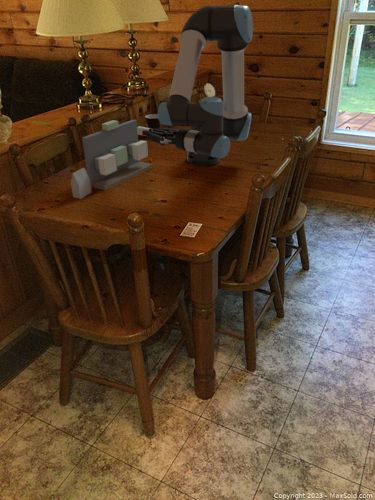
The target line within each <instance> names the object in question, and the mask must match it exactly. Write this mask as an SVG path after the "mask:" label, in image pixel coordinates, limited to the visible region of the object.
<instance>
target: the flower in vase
mask: <svg viewBox="0 0 375 500" xmlns="http://www.w3.org/2000/svg"><path fill="white" fill-rule="evenodd" d="M203 88H204V89H203V90H204V94H205V97H216V90H215V87H214V86H213V85H212V84H211V83H206V84H205V85H204V87H203ZM200 103H201V99H199V104H200Z"/></svg>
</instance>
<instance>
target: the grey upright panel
mask: <svg viewBox="0 0 375 500" xmlns="http://www.w3.org/2000/svg"><path fill="white" fill-rule="evenodd" d="M137 127H138V122H137V119H131V120H128V121H125V122H122V123H119V120H114V119H113V120H108V121H106V122H104V123H101V128H102V130H99V131H96V132H95V133H91V134H88V135H86V136H83V137H81V140H82V147H83V154H84V160H85V166H86V168H85V169H86V173H87V174H88V176H89V178H90V185H91V188H95V189H99V190H101V191H107V190H110V189H112V188H113V187H116V186H118V185H120V184H121V183H124V182H126V181H128V180H131V179H132V178H134V177H136V176H138V175H140V174H142V173H144V172H146V171H149V170H150V169H152V168H153V164H152V163H148V162H143V161H141V160H134V159H133V155H129V154H128V151H127V156H128V162H126V163H124V164H122V165H120V166H117V171H114V172H112V173H110V174H108V175H102V174H100V170H99V169H95V166H94V159H93V158H94V157H97V156H99V155H101V156H105V155H107V154H111V149H114V148H116V147H119V146H126V147H127V144H129V143H131V142H135V143H136V142H139V134H137Z"/></svg>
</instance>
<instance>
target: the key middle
mask: <svg viewBox="0 0 375 500" xmlns="http://www.w3.org/2000/svg"><path fill="white" fill-rule="evenodd" d="M111 154H114V155H115V157H116V166H120V165H122V164H124V163H126V162H128V156H127V147H126V146H119V147H116V148H114V149H111Z"/></svg>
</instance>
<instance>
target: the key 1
mask: <svg viewBox="0 0 375 500" xmlns="http://www.w3.org/2000/svg"><path fill="white" fill-rule="evenodd" d="M93 159H94V166H95V169H99V170H100V174H102V175H108V174H110V173H112V172H114V171H117V166H116V157H115V155H114V154H107V155H105V156H101V155H99V156H97V157H94V158H93Z"/></svg>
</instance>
